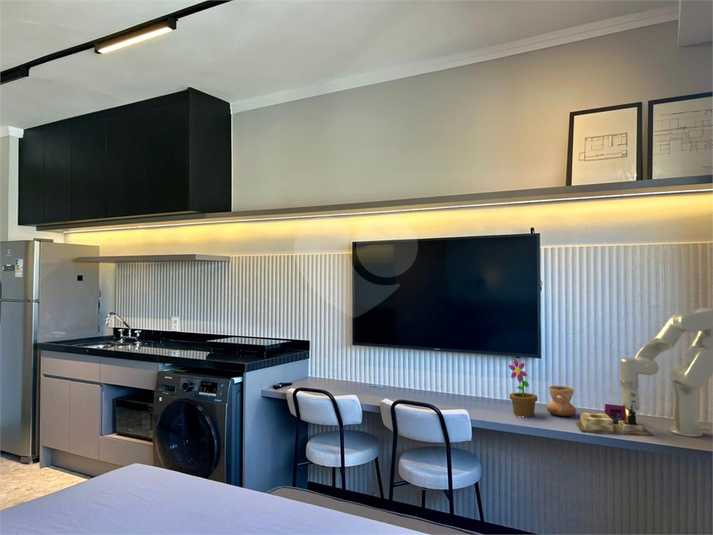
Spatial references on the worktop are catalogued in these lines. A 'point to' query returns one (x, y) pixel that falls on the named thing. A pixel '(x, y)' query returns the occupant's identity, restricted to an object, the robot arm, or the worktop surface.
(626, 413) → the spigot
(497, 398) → the worktop surface
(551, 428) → the worktop surface
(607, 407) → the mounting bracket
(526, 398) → the flowerpot
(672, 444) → the worktop surface
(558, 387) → the ceramic jug
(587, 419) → the docking station
